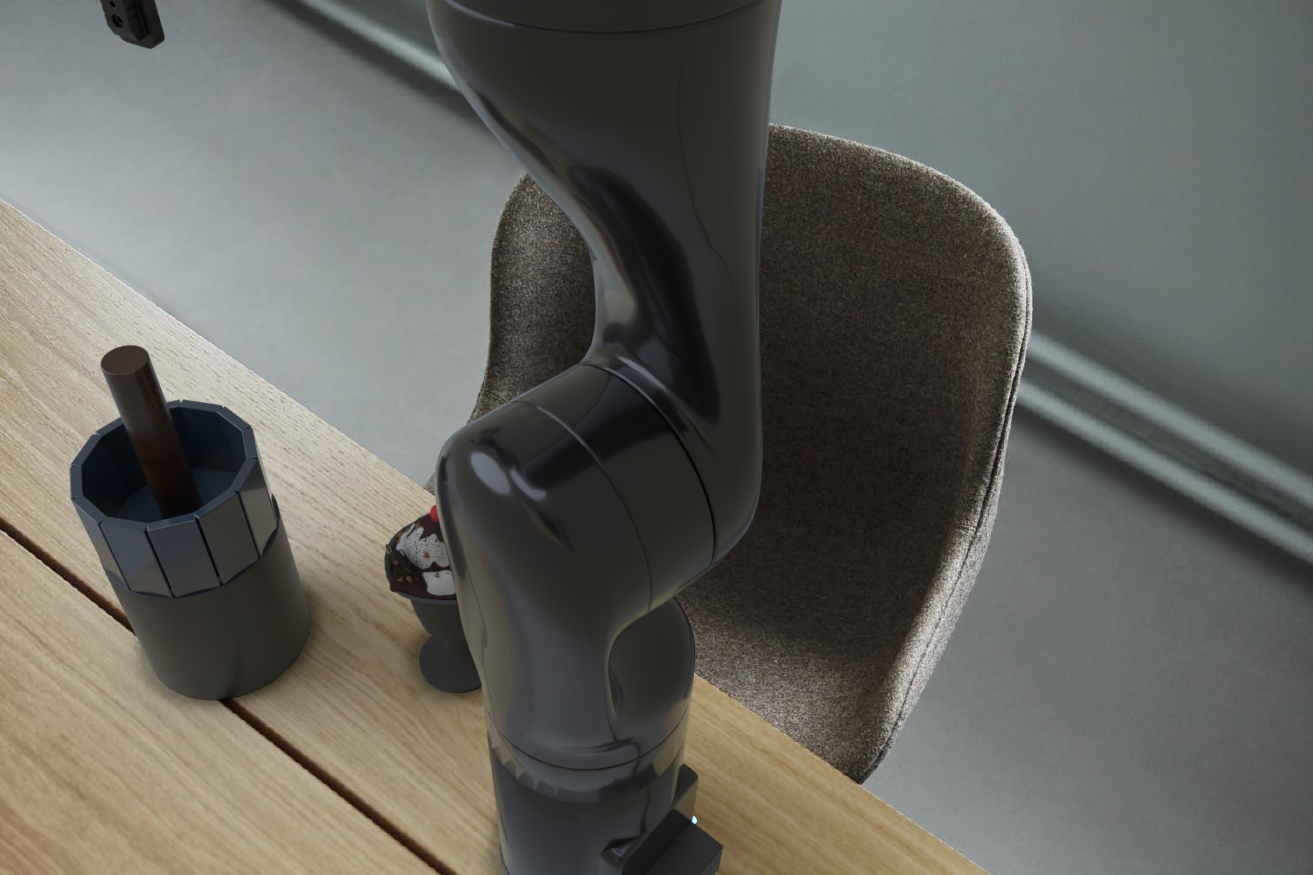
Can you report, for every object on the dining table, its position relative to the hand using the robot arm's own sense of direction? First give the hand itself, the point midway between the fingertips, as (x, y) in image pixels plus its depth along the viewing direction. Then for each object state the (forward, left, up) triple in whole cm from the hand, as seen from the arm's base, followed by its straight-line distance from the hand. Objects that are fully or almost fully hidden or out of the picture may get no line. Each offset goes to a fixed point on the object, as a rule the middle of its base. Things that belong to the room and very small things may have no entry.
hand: (205, 6), depth 56 cm
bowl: (-6, +12, -24) cm, 28 cm away
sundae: (-18, +4, -34) cm, 39 cm away
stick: (-6, +12, -24) cm, 27 cm away
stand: (-6, +12, -34) cm, 37 cm away
